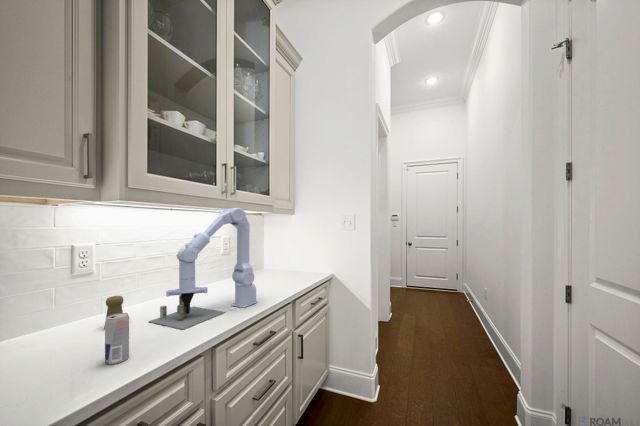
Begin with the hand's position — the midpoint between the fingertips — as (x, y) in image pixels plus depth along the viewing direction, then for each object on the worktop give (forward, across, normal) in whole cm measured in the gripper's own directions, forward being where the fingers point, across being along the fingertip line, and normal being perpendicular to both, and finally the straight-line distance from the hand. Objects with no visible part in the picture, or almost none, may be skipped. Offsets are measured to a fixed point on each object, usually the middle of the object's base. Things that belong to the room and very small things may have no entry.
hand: (187, 312), depth 109 cm
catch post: (+2, +9, -2) cm, 9 cm away
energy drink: (+2, +13, +30) cm, 33 cm away
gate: (+1, +2, -3) cm, 3 cm away
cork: (+2, +24, +1) cm, 24 cm away
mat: (+2, 0, -1) cm, 3 cm away
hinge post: (+2, +3, -10) cm, 10 cm away
